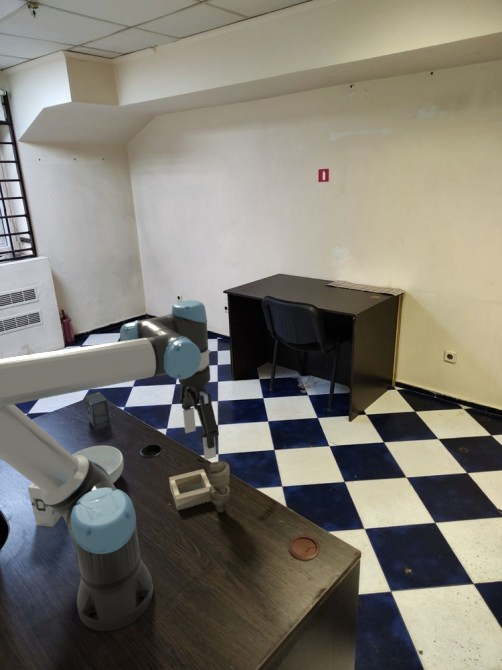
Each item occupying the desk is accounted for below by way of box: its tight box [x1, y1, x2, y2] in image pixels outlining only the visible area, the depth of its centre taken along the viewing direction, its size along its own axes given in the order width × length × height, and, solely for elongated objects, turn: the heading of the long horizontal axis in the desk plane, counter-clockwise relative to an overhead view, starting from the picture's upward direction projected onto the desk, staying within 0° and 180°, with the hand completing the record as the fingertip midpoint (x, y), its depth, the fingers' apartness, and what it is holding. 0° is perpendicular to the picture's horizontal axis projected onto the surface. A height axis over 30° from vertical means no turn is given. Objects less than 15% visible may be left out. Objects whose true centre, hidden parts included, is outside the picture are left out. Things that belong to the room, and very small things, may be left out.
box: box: [84, 391, 111, 431], centre depth 160 cm, size 8×6×11 cm
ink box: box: [27, 482, 63, 528], centre depth 115 cm, size 9×5×15 cm, turn 168°
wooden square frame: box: [168, 468, 212, 511], centre depth 123 cm, size 10×10×4 cm
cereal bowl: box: [71, 445, 124, 484], centre depth 129 cm, size 17×17×7 cm
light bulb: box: [207, 461, 231, 513], centre depth 114 cm, size 6×6×15 cm
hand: (199, 443), depth 112 cm, fingers open, 13 cm apart
